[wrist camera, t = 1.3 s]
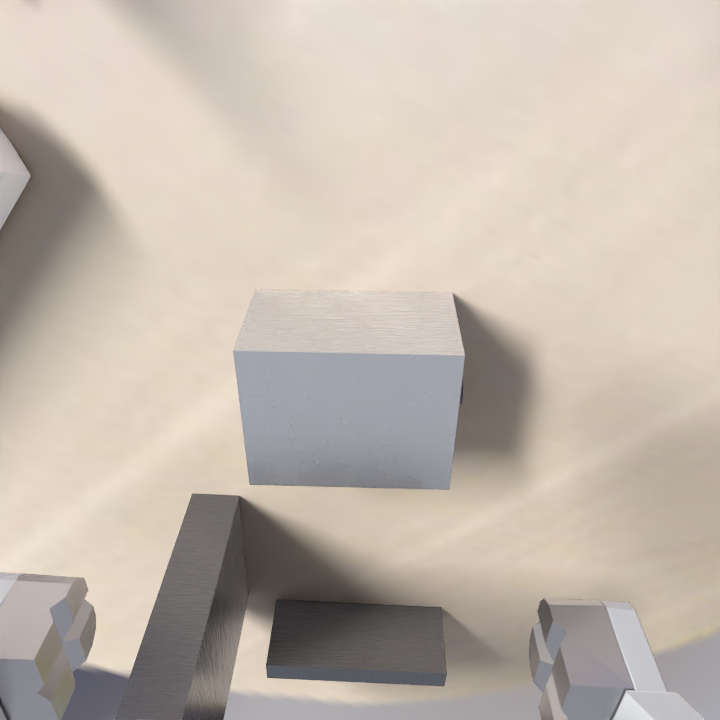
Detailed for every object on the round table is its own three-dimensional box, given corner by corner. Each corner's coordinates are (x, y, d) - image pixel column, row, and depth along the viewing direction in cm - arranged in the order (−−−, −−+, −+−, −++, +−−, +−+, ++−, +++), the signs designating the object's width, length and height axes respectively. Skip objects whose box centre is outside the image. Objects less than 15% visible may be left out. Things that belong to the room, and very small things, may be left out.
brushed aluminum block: (256, 287, 32) (233, 350, 27) (461, 291, 32) (476, 355, 27) (267, 410, 37) (249, 484, 32) (448, 414, 37) (459, 489, 32)
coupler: (192, 493, 40) (88, 797, 26) (458, 506, 40) (500, 817, 26) (210, 609, 47) (135, 902, 33) (438, 620, 47) (463, 918, 33)
